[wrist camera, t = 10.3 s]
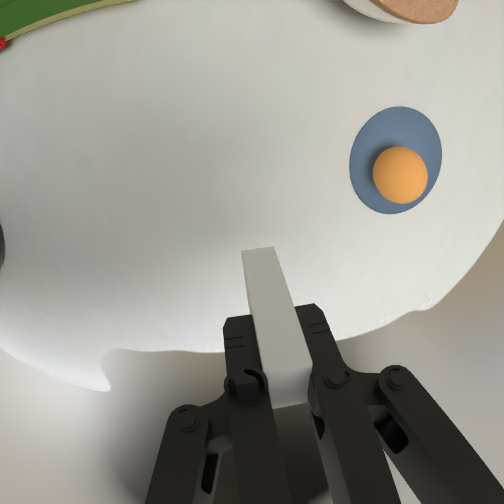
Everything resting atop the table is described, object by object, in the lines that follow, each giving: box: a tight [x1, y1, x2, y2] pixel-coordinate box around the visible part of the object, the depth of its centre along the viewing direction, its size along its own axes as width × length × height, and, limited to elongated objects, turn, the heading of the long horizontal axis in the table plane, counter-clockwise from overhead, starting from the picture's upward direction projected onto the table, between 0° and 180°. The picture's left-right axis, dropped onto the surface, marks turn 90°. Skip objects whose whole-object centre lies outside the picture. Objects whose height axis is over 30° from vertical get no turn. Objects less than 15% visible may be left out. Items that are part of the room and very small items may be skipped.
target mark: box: [350, 107, 442, 214], centre depth 27 cm, size 12×12×1 cm
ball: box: [373, 146, 428, 204], centre depth 25 cm, size 6×6×6 cm
